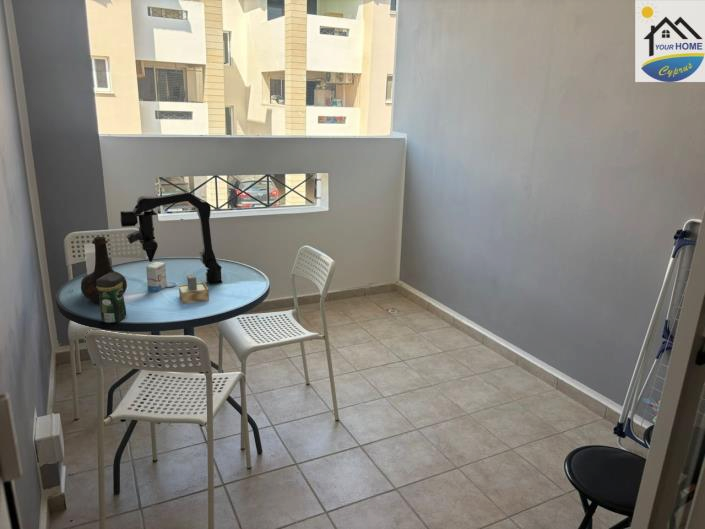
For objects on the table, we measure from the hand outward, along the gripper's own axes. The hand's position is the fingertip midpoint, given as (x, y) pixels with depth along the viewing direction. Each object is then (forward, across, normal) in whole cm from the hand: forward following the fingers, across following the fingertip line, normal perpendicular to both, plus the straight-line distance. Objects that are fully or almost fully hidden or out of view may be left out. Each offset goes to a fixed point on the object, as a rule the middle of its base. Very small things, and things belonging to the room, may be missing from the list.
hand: (149, 258), depth 233 cm
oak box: (+15, +19, +15) cm, 29 cm away
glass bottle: (+15, +6, -20) cm, 25 cm away
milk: (+15, -8, -23) cm, 28 cm away
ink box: (+15, 0, +2) cm, 15 cm away
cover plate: (+11, +19, +15) cm, 26 cm away
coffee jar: (+15, +30, -18) cm, 38 cm away
